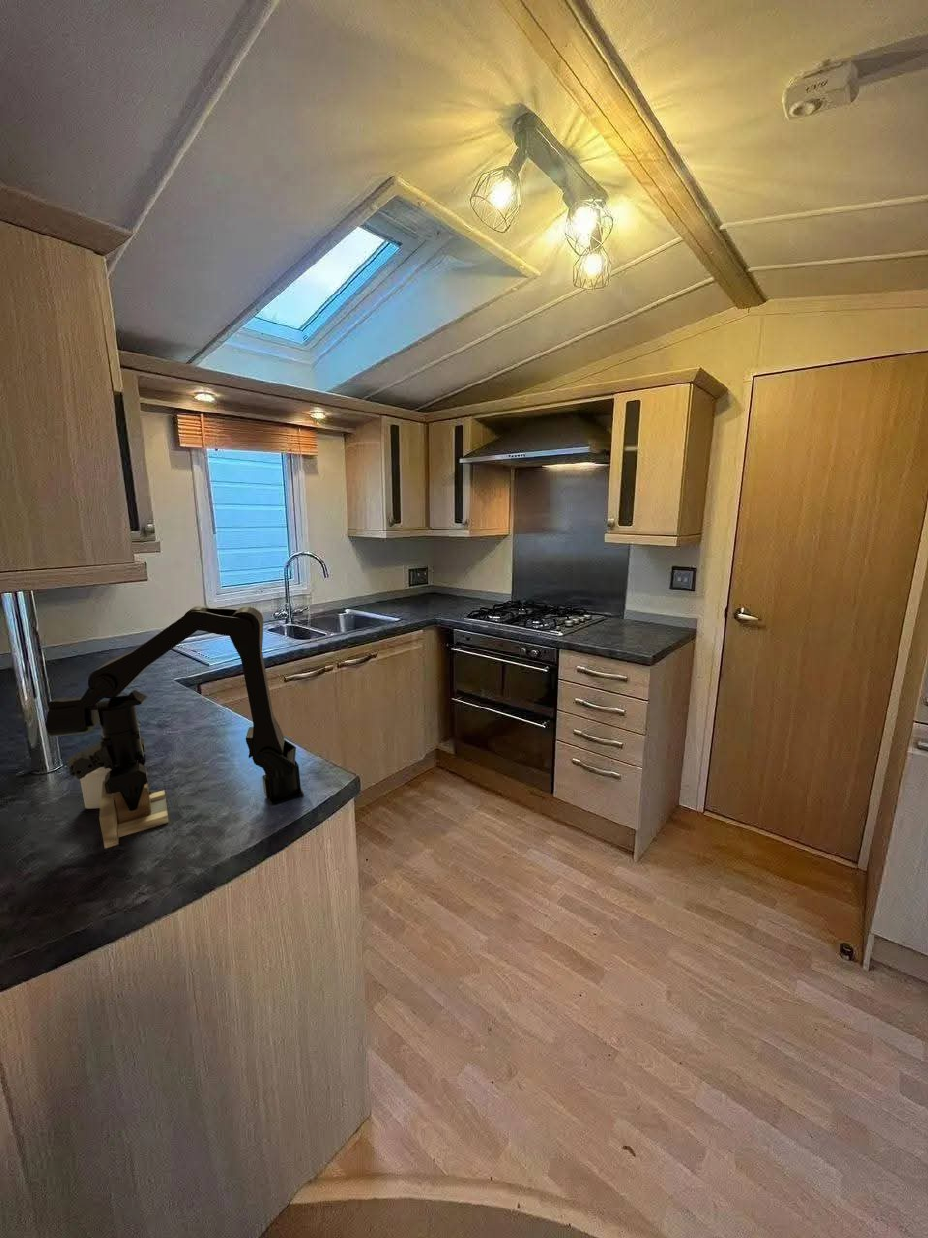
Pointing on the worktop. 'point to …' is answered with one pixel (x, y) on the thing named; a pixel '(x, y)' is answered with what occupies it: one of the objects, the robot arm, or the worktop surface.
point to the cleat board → (116, 830)
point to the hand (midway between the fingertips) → (133, 803)
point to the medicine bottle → (93, 787)
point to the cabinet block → (128, 815)
